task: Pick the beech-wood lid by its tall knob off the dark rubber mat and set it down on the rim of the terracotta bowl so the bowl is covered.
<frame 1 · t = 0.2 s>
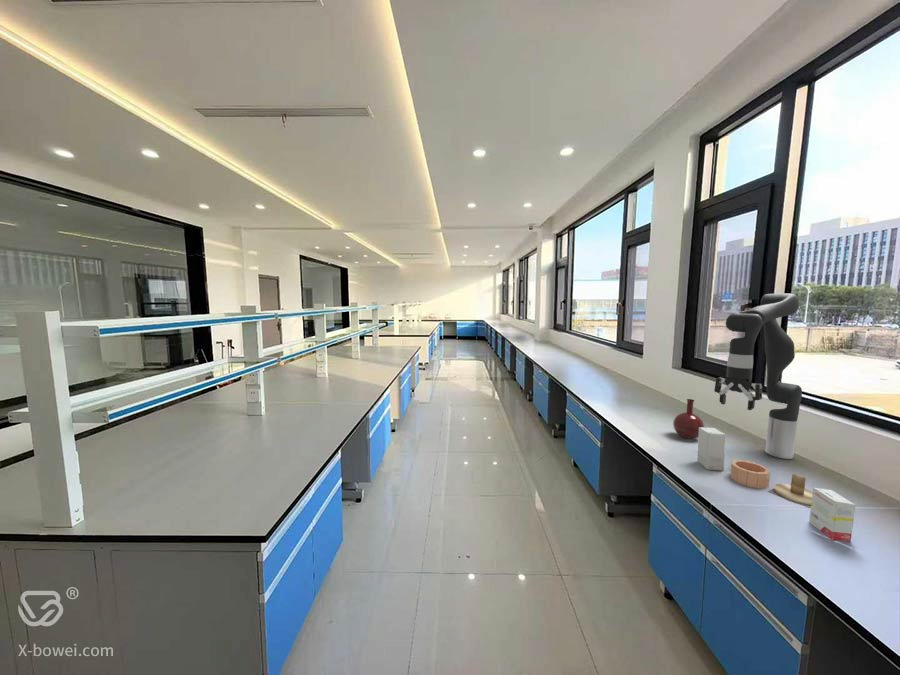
hand: (735, 406, 134), 29 cm above the lab bench, fingers open, 8 cm apart
bowl: (748, 481, 134), on the lab bench
lid: (796, 495, 123), resting on mat
mat: (796, 496, 123), on the lab bench
red vase: (687, 438, 177), on the lab bench
skincare box: (709, 466, 147), on the lab bench
ink box: (829, 533, 104), on the lab bench
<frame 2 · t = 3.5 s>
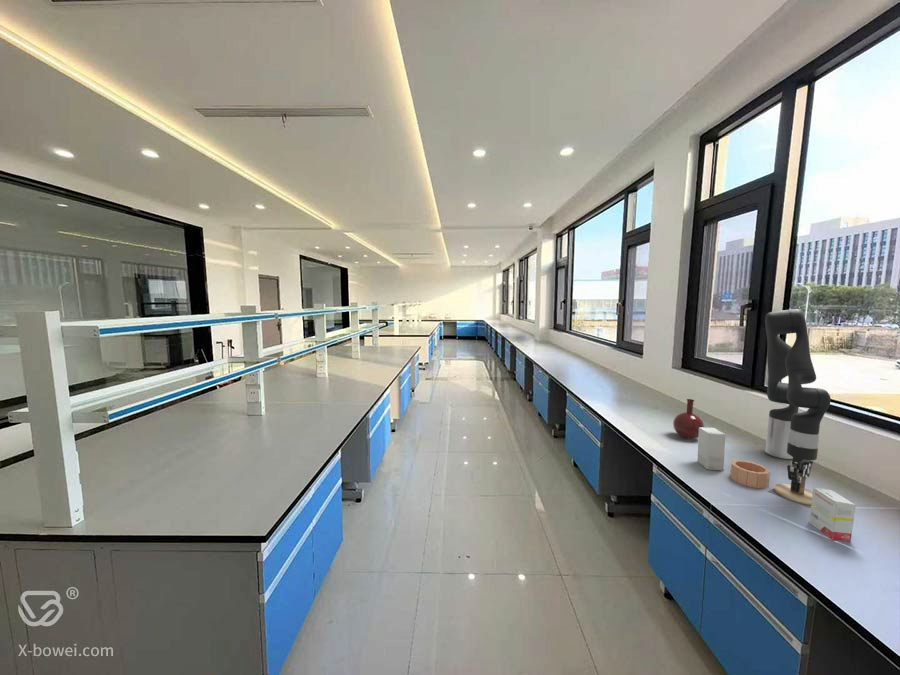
hand: (797, 489, 123), 3 cm above the lab bench, fingers closed on lid, 3 cm apart
lid: (796, 495, 123), resting on mat, touching gripper
everything else where it was.
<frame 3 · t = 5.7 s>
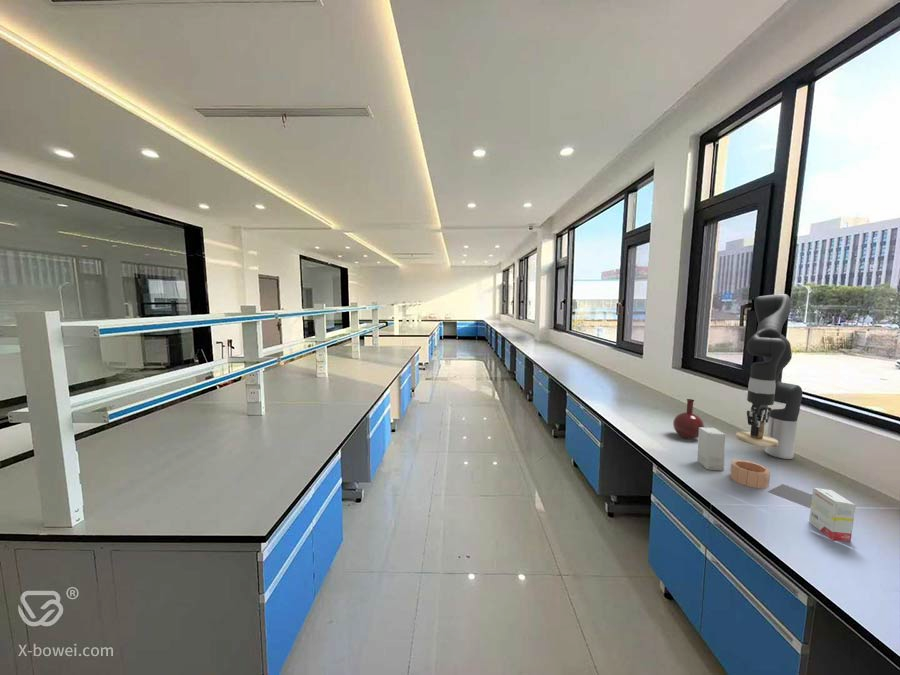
hand: (756, 434, 131), 19 cm above the lab bench, fingers closed on lid, 3 cm apart
lid: (756, 440, 131), point 17 cm above the lab bench, touching gripper
everything else where it was.
when the fingers open (10 cm above the lab bench, at t = 7.8 s): lid drops 2 cm, resting on bowl.
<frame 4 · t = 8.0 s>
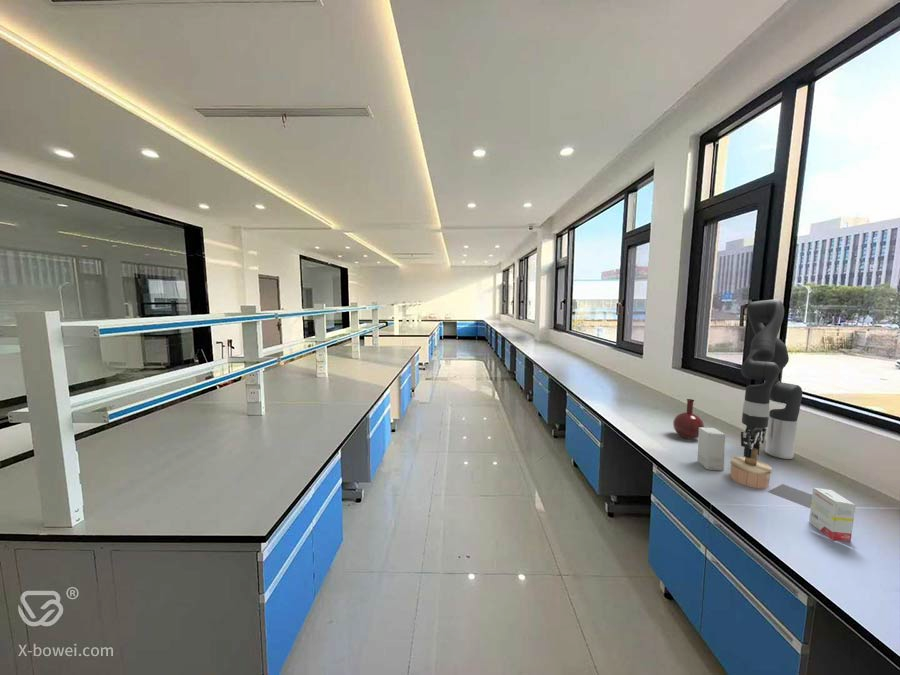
hand: (751, 455, 133), 10 cm above the lab bench, fingers open, 5 cm apart
lid: (750, 466, 133), point 6 cm above the lab bench, touching bowl
everything else where it was.
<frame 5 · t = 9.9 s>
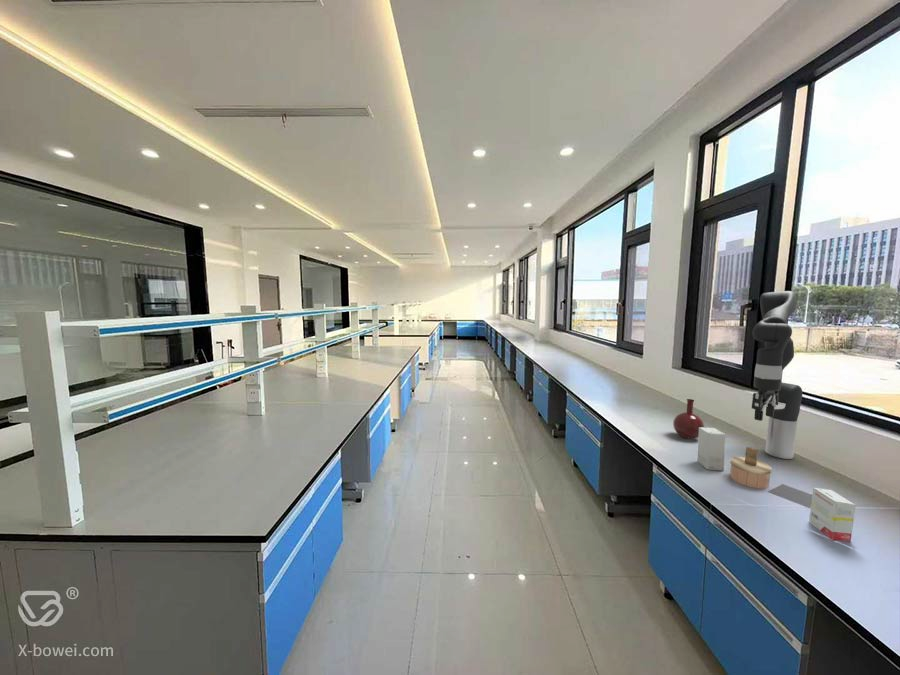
hand: (763, 418, 131), 25 cm above the lab bench, fingers open, 8 cm apart
nothing on the lab bench moved.
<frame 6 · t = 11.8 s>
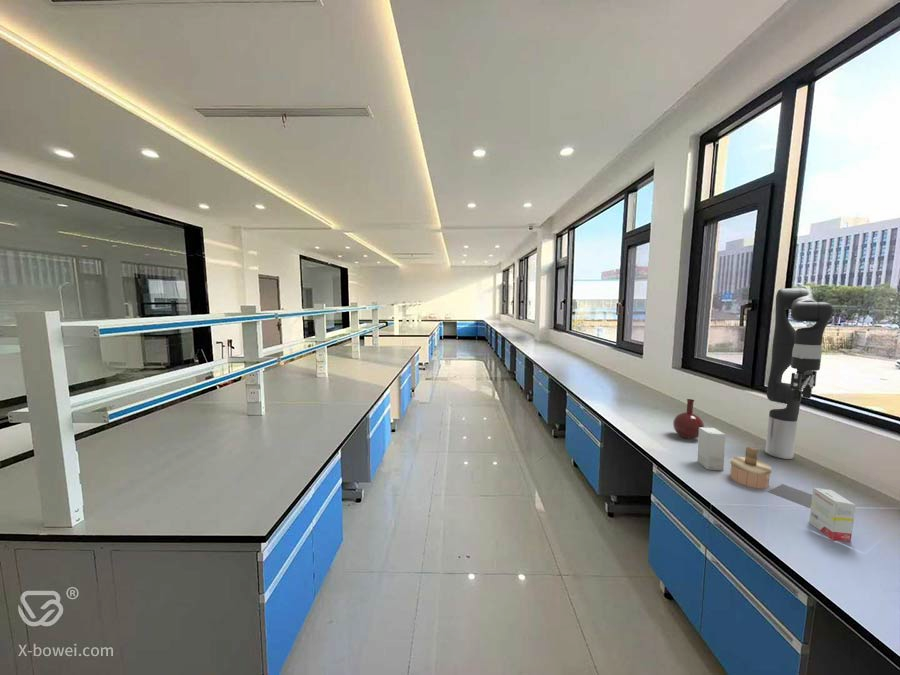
hand: (801, 399, 129), 33 cm above the lab bench, fingers open, 8 cm apart
nothing on the lab bench moved.
at the end: lid 0.1 cm off-centre on the bowl, point 6.0 cm above the bowl's base; lid tilted 0°; the gripper is holding nothing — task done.
